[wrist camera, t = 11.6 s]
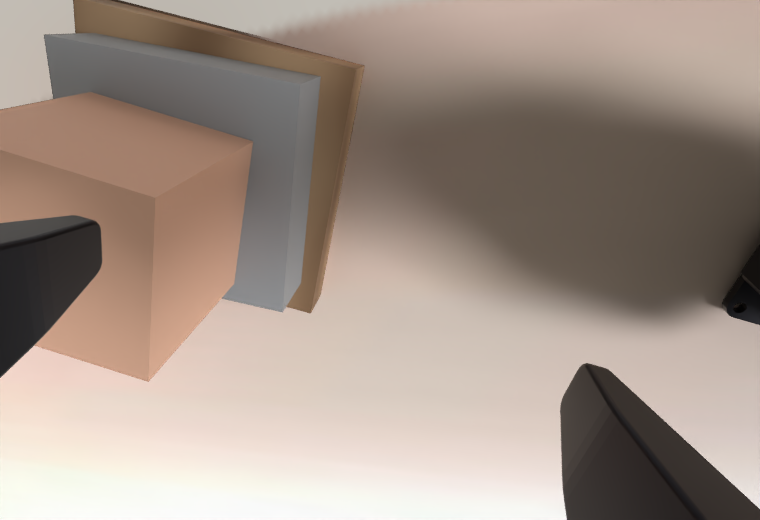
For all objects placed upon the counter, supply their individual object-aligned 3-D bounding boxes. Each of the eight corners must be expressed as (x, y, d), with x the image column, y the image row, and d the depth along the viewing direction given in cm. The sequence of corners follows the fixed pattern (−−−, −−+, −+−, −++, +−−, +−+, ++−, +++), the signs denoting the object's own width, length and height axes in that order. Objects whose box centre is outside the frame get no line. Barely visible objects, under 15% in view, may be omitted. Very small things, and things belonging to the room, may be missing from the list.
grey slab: (320, 76, 18) (300, 84, 16) (300, 283, 22) (282, 312, 20) (94, 32, 19) (43, 34, 16) (116, 241, 23) (78, 265, 21)
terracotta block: (253, 141, 17) (155, 197, 12) (234, 283, 20) (148, 381, 14) (90, 91, 17) (-80, 124, 12) (94, 240, 20) (-42, 321, 15)
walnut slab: (368, 64, 20) (355, 69, 18) (324, 287, 25) (310, 313, 23) (115, -1, 20) (73, -4, 18) (123, 231, 25) (91, 251, 23)
